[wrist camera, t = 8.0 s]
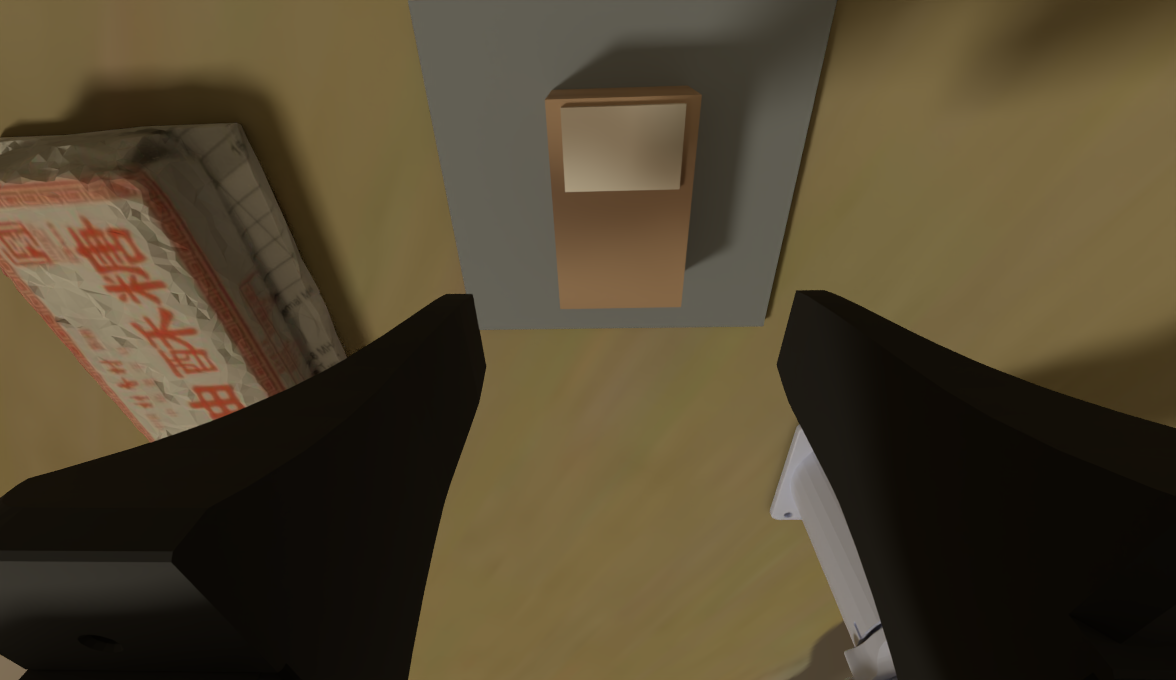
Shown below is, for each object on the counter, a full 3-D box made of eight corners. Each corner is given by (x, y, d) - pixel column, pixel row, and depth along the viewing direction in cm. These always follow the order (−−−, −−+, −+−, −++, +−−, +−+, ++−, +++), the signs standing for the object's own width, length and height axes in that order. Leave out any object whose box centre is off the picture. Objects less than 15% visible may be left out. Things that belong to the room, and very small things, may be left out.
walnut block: (672, 276, 19) (681, 309, 17) (564, 278, 19) (559, 311, 17) (687, 85, 15) (703, 95, 13) (552, 89, 15) (544, 100, 13)
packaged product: (-185, 166, 13) (145, 144, 13) (-4, 134, 17) (252, 116, 17) (173, 532, 23) (363, 527, 23) (235, 458, 27) (398, 452, 27)
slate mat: (834, -13, 14) (839, -14, 14) (760, 321, 21) (763, 326, 20) (412, 1, 14) (407, 0, 14) (475, 325, 21) (473, 329, 21)
